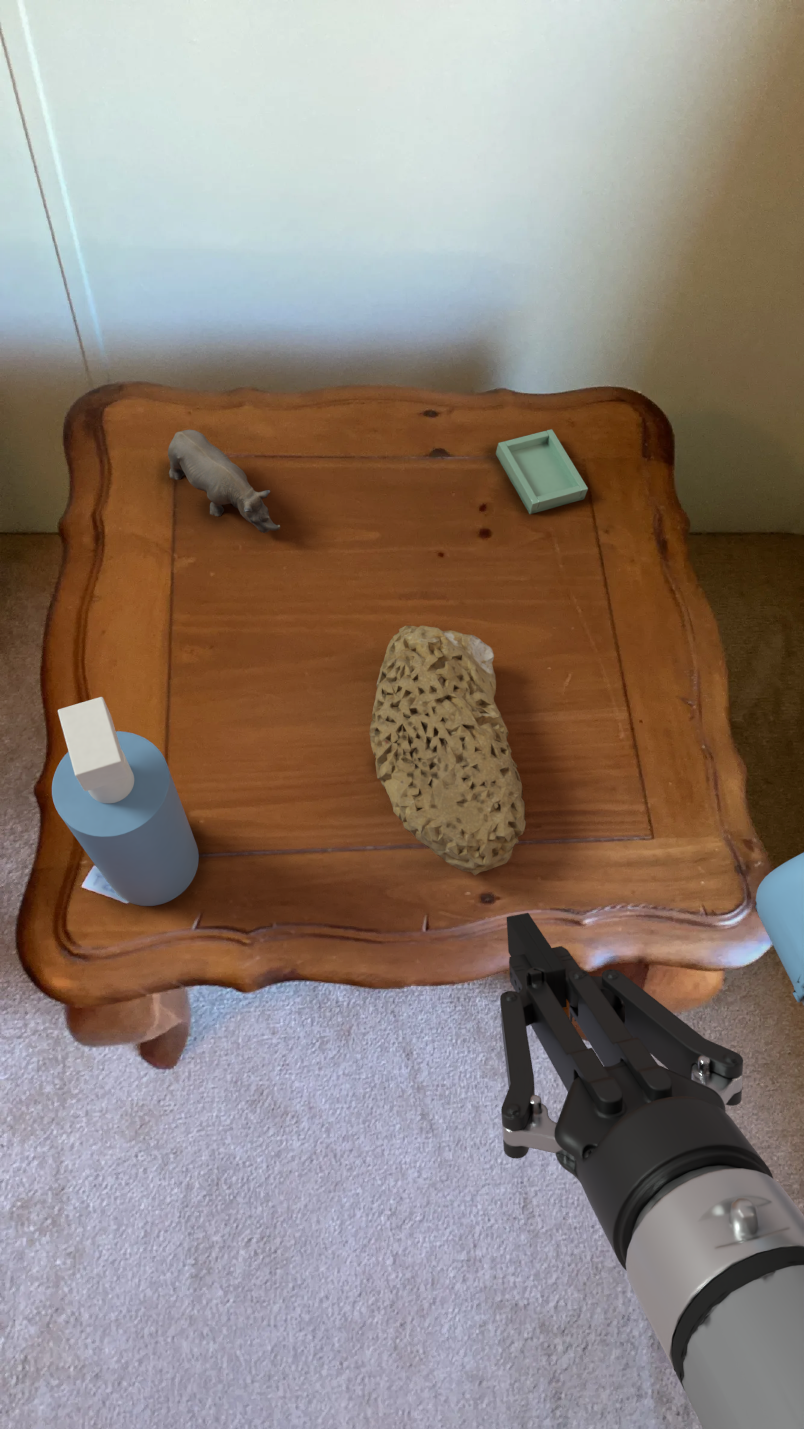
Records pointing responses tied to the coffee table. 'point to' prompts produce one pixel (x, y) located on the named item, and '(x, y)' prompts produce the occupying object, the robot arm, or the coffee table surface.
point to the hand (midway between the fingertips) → (518, 932)
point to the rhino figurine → (217, 478)
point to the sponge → (447, 748)
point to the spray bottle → (123, 807)
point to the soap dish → (541, 471)
